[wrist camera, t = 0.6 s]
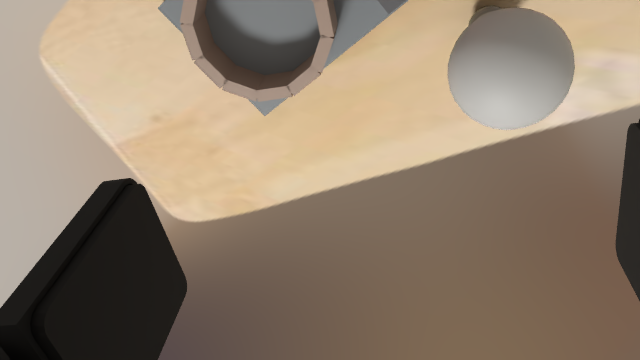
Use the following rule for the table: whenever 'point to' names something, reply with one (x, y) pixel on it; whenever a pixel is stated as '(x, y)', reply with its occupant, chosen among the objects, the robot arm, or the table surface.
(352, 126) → the table surface
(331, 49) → the panel
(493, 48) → the lightbulb
